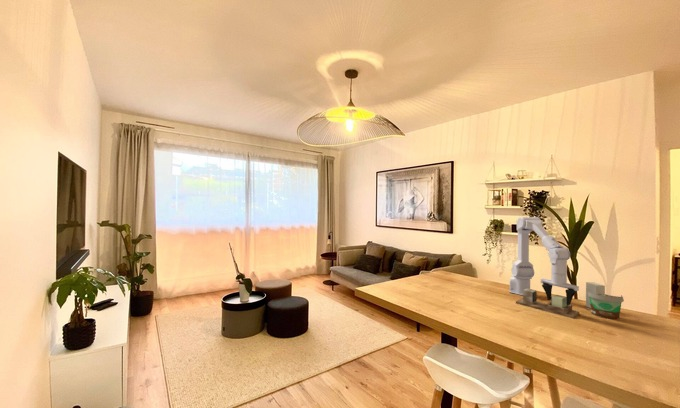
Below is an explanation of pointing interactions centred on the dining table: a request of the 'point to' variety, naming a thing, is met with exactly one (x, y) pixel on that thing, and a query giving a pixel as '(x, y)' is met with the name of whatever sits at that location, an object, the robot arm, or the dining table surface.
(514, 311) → the dining table surface
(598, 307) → the food container
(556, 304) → the green block
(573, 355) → the dining table surface
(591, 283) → the skincare box
